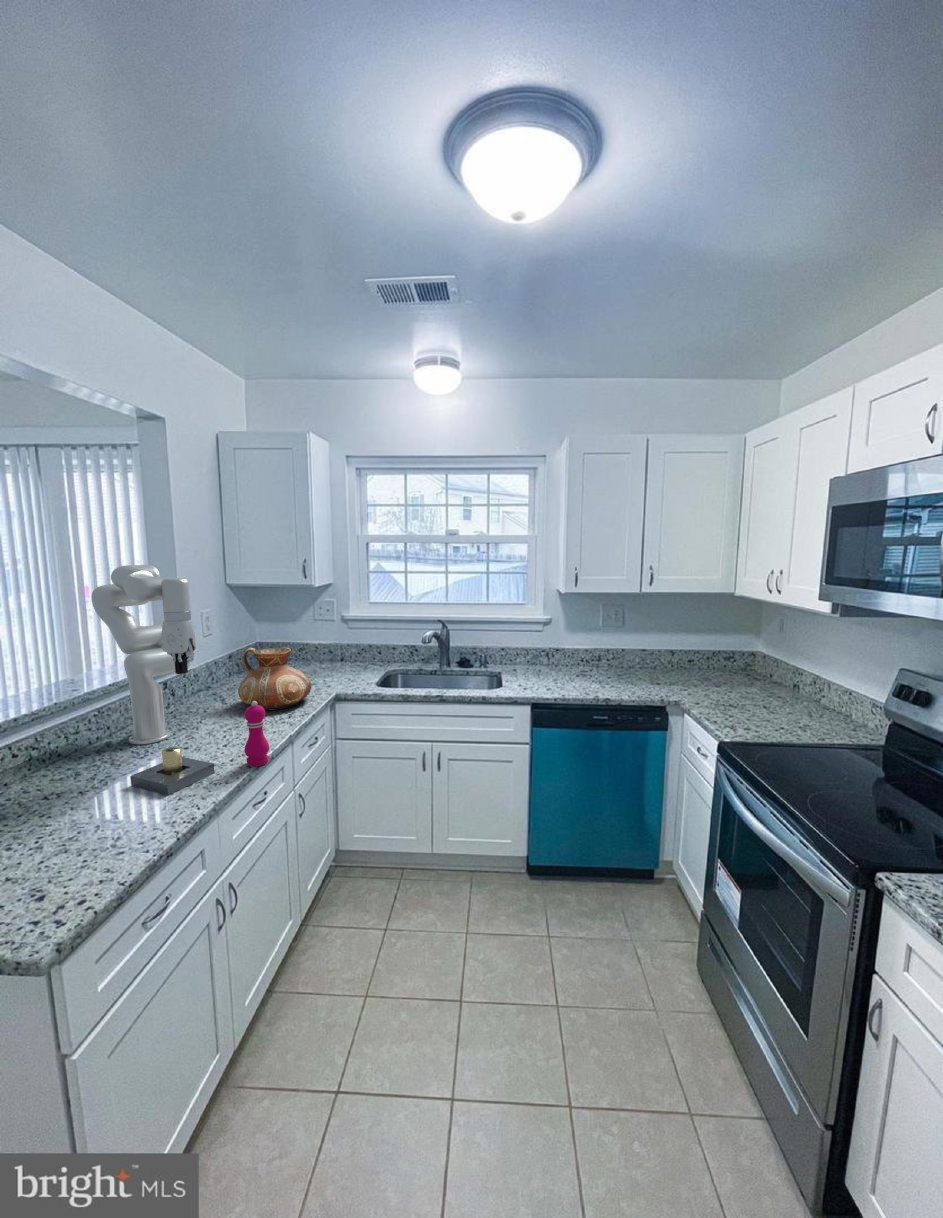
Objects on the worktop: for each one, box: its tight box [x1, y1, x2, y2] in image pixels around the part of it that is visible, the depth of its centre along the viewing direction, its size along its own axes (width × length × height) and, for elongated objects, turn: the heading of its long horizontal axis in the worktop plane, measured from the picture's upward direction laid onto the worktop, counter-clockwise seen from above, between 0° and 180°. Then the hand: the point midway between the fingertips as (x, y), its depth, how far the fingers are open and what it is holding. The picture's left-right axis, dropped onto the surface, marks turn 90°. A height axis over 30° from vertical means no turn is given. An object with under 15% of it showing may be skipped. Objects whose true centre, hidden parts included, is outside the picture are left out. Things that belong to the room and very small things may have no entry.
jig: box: [130, 756, 215, 796], centre depth 149 cm, size 15×15×3 cm
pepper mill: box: [243, 701, 270, 768], centre depth 159 cm, size 7×7×20 cm
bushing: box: [161, 746, 183, 776], centre depth 149 cm, size 5×5×9 cm
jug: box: [237, 647, 312, 711], centre depth 221 cm, size 30×30×25 cm
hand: (181, 673), depth 165 cm, fingers closed
